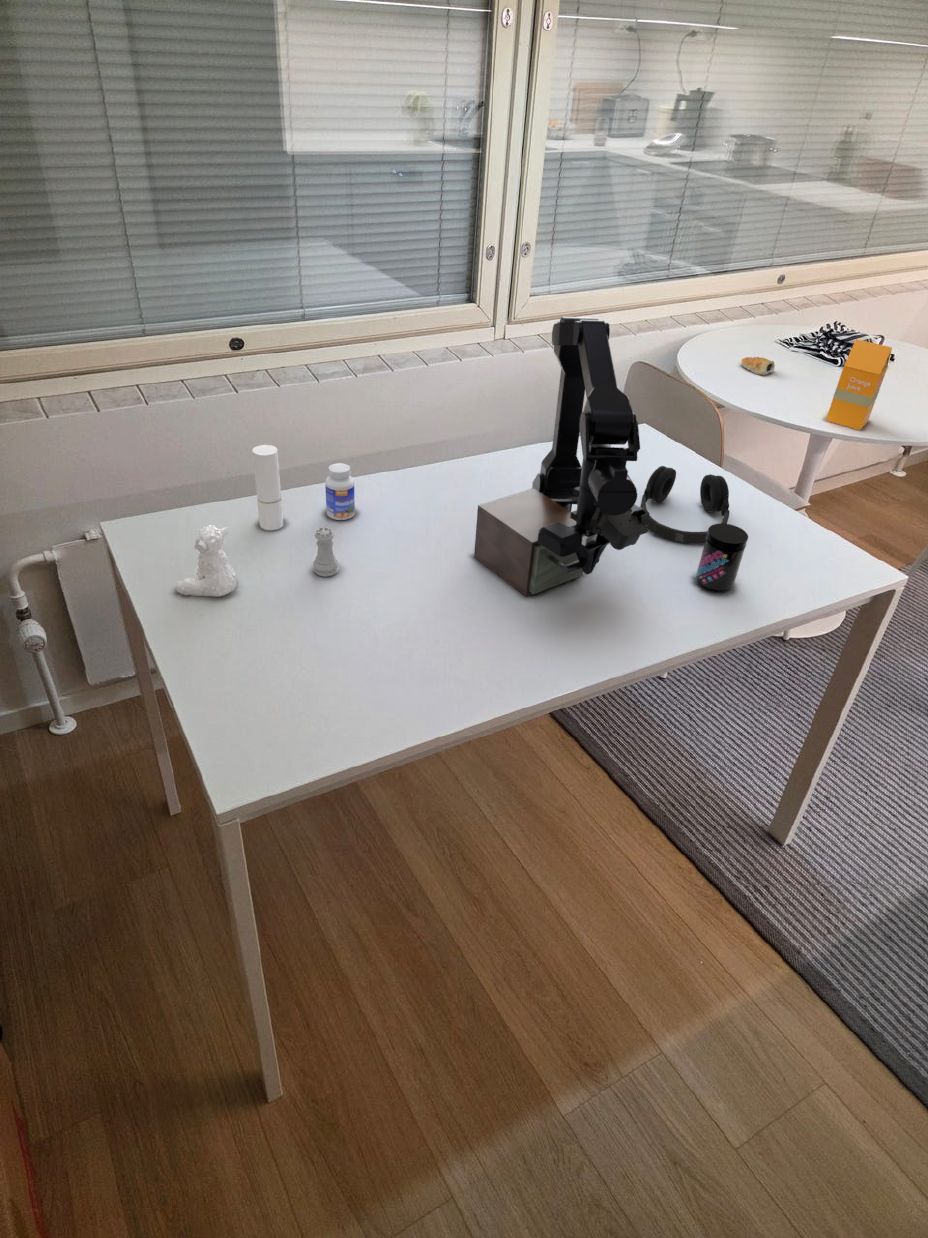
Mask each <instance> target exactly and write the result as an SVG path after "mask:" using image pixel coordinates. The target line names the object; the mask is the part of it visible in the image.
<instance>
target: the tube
mask: <svg viewBox="0 0 928 1238" xmlns="http://www.w3.org/2000/svg"><path fill="white" fill-rule="evenodd" d="M251 451H252V459H253V470H254V471H253V472H254V479H255V480H254V481H255V491H256V501H257V511H258V522H259V527H260V529H263V530H265V531H277V530H280V529H281V528H283V526H284V517H283V503H282V489H281V478H280V465H279V463H280V462H279V451H278V448H277V446H274V445H271V444H261V445H256V446H254V447H253V448H252V450H251Z"/></svg>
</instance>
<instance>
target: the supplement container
mask: <svg viewBox="0 0 928 1238" xmlns="http://www.w3.org/2000/svg"><path fill="white" fill-rule="evenodd" d="M707 531H708V532H707V535H706V540H705V543H703V544H704V545H703V548H702V552H701V555H700V559H699V562H698V566H697V569H696V574H695V582H696V584H697V585H698V586H699V587H700V588H701V589H703V590H704V591H707V592H708V593H714V594H724V593H728V592H729V591H731V590H732V589H733V588H734V585H735V582H736V579H737V576H738V572H739V569H740V566H741V562H742V559H743V556H744V553H745V549H746V547H747V542H748V540H749V534H748V533H747V532H746V530H744V529H743V528H742V527H739V526H737V525H733V524H729V523H727V524H723V523H721V522H720V523H714V524H712V525H710V526H709V527H708V529H707Z"/></svg>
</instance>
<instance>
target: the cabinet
mask: <svg viewBox="0 0 928 1238" xmlns="http://www.w3.org/2000/svg"><path fill="white" fill-rule="evenodd" d="M571 512H572V511H571ZM571 512H570V511H569V510H567V509H566V508H564V507H562V506H561V505H559V504H558V503H556V502H554V501H553V500H551V499H550V498H548V497H546V496H545V495H543V494H542V493H540V492H539V491H537V490H535V489H534V488H532V487H531V488H530V489H526V490H523V491H519V492H517V493H513V494H510V495H507V496H503V497H500V498H497V499H494V500H491V501H488V502H483V503H480V504H478V505H477V514H476V524H475V528H476V529H475V536H474V537H475V540H474V550H473V558H475V559H476V560H477V561H478V562H480V563H481V564H482V565H484V567H486V568H487V569H489V570H490V571H492V572H493V573H494V574H495V575H497V576H498V577H499V578H501V579H502V581H505V582H506V583H507V584H508V585H510V586H511V587H513V589H515V590H516V591H518V592H519V593H520V594H522V595H523V596H524V597H528V596H530V595H533V594H532V593H531V592H530V591H529V587H530V579H531V571H532V563H533V555H534V548H535V546H536V545H538V544H539V543H538V532H539V529H541V528H542V527H545V526H547V525H550V524H553V523H556V522H561V523H563V524H565V525H566V526H568V527H570V526H572V525H575V524H576V521H575V520H573V519H571V518H570V516H571Z"/></svg>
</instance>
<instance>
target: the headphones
mask: <svg viewBox="0 0 928 1238" xmlns="http://www.w3.org/2000/svg"><path fill="white" fill-rule="evenodd" d="M676 477H677V471H676V470H675V469H674V468H672V467H667V466H665V465H660V466H659V467H657V468H656V469H655V470H654V471H653V472H652V474H651V475H650V477H649V478H648V480H647V483H646V486H645V489H644V490H643V491H644V492H643V495H642V496H641V502H640V506H639V507H640V508H645V509H646V510H647V511H648V509H647V502H648V500H651V501H653V502H655V503H657V504H661V503H663V502H664V501H665V500H666V499H667V498H668V496H669V495H670V493H671V492H672V490H673V487H674V484H675V482H676ZM728 485H729V484H728V483H727V481H726V479H725V477H724V476H722V475H715V474H710V473H709V474H706V475H704V476H703V478H702V479H701V482H700V488H699V495H700V503H701V505H702V507H703V510H704V511H706V512H709V513H714V512H720V515H721V517H723V518H722V521H721V522H720V523H723V524H728V521H729V518H730V510H729V508H730V502H729V498H730V497H729V496H730V490H729V486H728ZM647 529H648V531H649V532H651V533H652V534H654V535H655V536H657V537H660V538H663V539H664V540H668V541H672V542H675V543H680V544H687V545H693V544H694V545H697V544H698V545H703V544H705V540H706V535H707V532H708V530H706V531H687V530H681V529H677V528H672V527H670V526H667V525H665V524H663V523H660V522H658V521H657V520H655V519H654V518H653V516H651V515H650V517H649V525H648V527H647Z"/></svg>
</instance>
